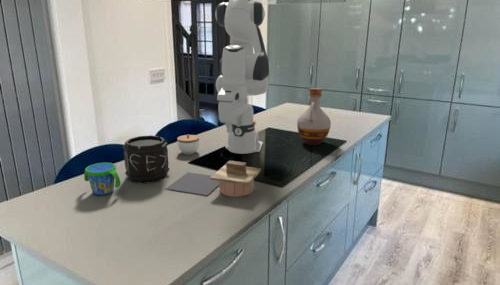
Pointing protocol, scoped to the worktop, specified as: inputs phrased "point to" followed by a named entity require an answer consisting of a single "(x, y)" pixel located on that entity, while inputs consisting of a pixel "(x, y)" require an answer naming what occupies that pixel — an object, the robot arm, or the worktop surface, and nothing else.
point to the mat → (194, 184)
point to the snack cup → (102, 178)
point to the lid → (236, 173)
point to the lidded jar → (188, 143)
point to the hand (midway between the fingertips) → (234, 129)
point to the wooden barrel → (146, 159)
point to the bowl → (236, 189)
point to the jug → (314, 121)
